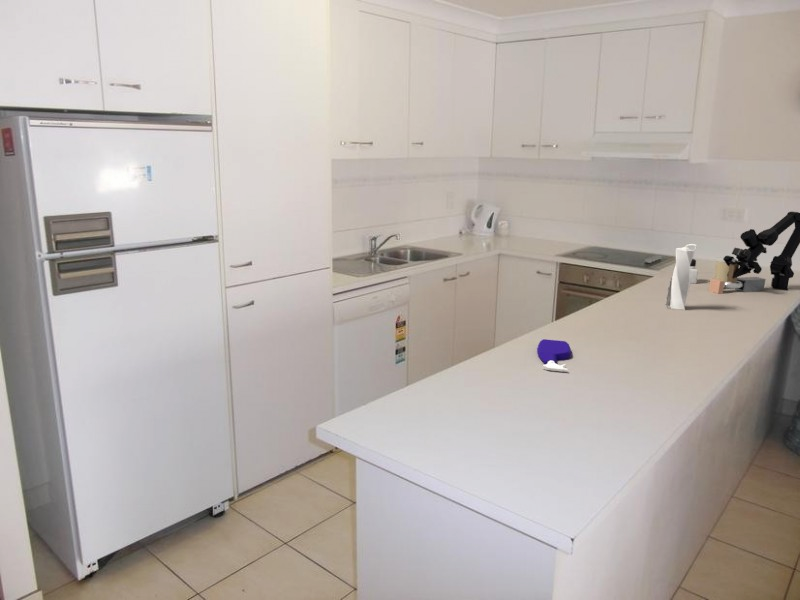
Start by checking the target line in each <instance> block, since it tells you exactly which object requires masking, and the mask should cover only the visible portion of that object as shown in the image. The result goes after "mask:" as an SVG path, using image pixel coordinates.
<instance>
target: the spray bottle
mask: <svg viewBox="0 0 800 600" xmlns="http://www.w3.org/2000/svg"><path fill="white" fill-rule="evenodd" d="M536 353H537V356H538V358H539V359H540V361H541V362H543V363H544V364H543V365H542V370H546V371H553V372H560V373H563V372H564V373H568V368H567V367H565V366H566V365H567V364H566V363H565V364H561V365H560V364H558V363H559V362H558V361H564V360H567V359H570V358H571V355H572V350H571V346H570V344H569V343H568V341H565V340H554V339H543V338H542V339H541V340H540V341H539V343H538V345H537V348H536Z"/></svg>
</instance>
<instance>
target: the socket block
mask: <svg viewBox="0 0 800 600" xmlns="http://www.w3.org/2000/svg"><path fill="white" fill-rule="evenodd" d="M724 282H725V281H722V280H718V279H715V278H710V282H709V289H708V291H709V292H712V293H715V294H719V295H720V294H724V289H723V288H724Z"/></svg>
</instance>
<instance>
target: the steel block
mask: <svg viewBox="0 0 800 600" xmlns="http://www.w3.org/2000/svg"><path fill="white" fill-rule="evenodd" d="M737 281H745V282H744V288H739V289H734V290H735V291H739V292H743V293H752V292H764V290H765V285H766V278H762V277H758V276H745V277H744V276H743V277H737Z"/></svg>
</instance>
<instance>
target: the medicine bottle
mask: <svg viewBox="0 0 800 600" xmlns="http://www.w3.org/2000/svg"><path fill="white" fill-rule="evenodd" d="M696 265H697V260H696V259H695V258H692V261H691V264H690V270H691V279H690V285H691V284H692V285H693V284H697V281H698V273H699V269H697V268H696Z"/></svg>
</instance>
